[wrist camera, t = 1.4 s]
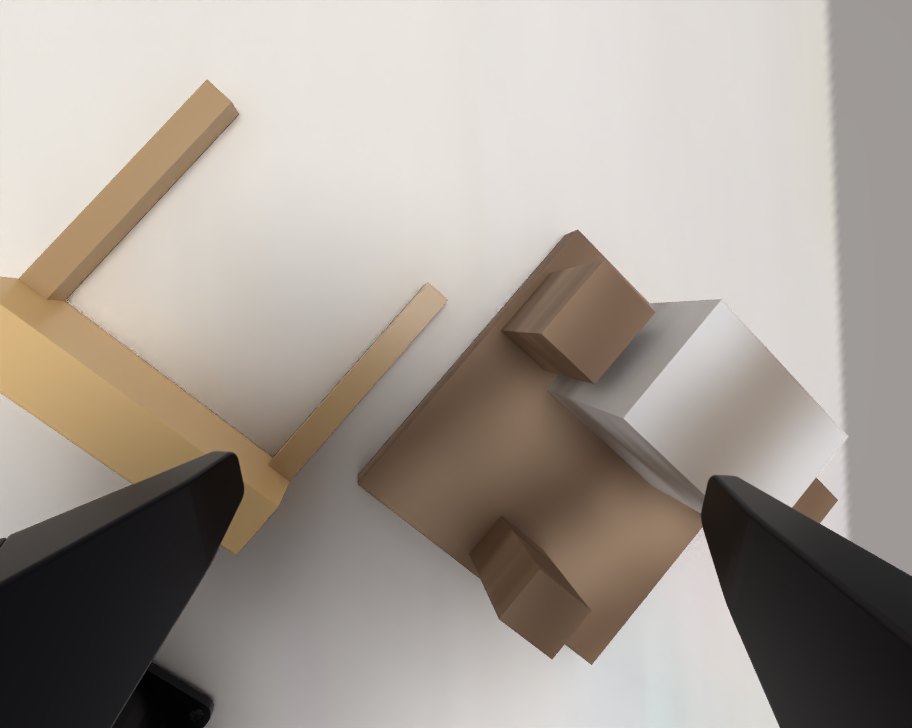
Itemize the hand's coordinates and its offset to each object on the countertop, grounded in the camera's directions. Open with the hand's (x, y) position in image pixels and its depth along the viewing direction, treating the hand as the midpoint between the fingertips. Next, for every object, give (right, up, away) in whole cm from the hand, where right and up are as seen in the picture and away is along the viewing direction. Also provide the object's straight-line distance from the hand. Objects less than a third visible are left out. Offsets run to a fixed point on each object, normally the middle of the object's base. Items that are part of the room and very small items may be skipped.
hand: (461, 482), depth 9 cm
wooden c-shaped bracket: (-8, +4, +9) cm, 13 cm away
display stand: (+5, -1, +12) cm, 13 cm away
